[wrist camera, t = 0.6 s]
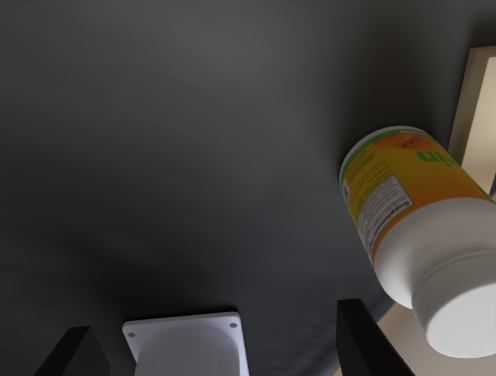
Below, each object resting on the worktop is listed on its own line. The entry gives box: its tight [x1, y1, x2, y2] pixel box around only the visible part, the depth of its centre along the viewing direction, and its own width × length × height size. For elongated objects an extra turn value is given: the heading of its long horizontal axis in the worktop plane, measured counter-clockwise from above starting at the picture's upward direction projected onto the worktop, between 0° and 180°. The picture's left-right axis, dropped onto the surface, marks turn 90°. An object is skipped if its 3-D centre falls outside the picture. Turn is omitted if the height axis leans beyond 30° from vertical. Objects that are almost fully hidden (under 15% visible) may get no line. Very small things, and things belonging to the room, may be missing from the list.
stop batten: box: [447, 46, 496, 195], centre depth 20 cm, size 13×2×2 cm, turn 5°
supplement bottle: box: [339, 126, 496, 358], centre depth 17 cm, size 5×5×10 cm
